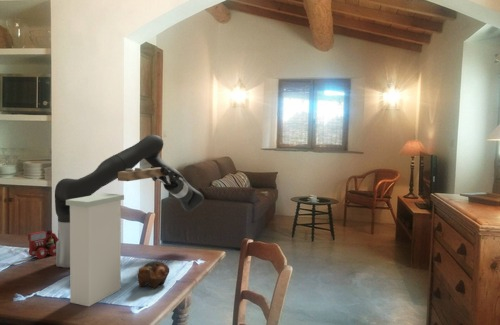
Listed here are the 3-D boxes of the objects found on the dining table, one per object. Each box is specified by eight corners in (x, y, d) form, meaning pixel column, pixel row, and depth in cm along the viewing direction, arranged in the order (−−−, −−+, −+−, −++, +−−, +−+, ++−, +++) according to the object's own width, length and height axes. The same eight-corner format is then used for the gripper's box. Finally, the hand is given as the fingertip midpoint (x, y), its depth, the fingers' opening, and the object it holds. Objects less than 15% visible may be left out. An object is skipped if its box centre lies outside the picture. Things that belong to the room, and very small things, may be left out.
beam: (159, 174, 154) (159, 165, 153) (167, 175, 152) (167, 165, 152) (117, 180, 130) (117, 169, 130) (127, 181, 129) (127, 170, 128)
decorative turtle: (128, 291, 123) (127, 266, 123) (152, 278, 138) (152, 256, 138) (155, 294, 121) (155, 268, 121) (176, 280, 135) (176, 257, 135)
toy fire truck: (63, 253, 162) (63, 229, 162) (33, 260, 152) (33, 235, 151) (54, 250, 166) (54, 226, 166) (24, 257, 156) (24, 232, 155)
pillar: (104, 284, 129) (104, 193, 127) (123, 288, 126) (124, 194, 124) (66, 303, 114) (65, 200, 112) (87, 308, 111) (87, 202, 109)
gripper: (164, 177, 166) (143, 159, 152) (193, 179, 162) (175, 160, 147) (159, 193, 163) (138, 176, 149) (188, 195, 159) (169, 178, 144)
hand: (156, 168), depth 148 cm, fingers closed on beam, 4 cm apart
